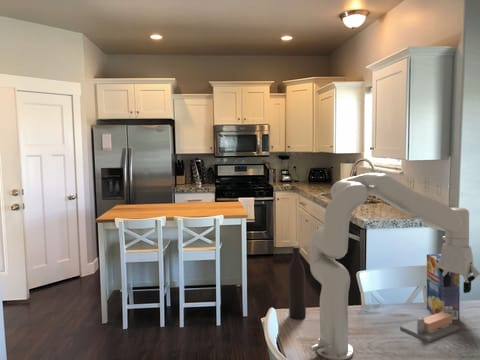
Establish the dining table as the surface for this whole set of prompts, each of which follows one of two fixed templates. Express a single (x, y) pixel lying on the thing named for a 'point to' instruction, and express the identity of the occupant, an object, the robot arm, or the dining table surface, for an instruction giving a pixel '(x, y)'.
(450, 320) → the swing bar
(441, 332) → the label board
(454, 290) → the juice carton
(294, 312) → the wine bottle
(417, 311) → the dining table surface
